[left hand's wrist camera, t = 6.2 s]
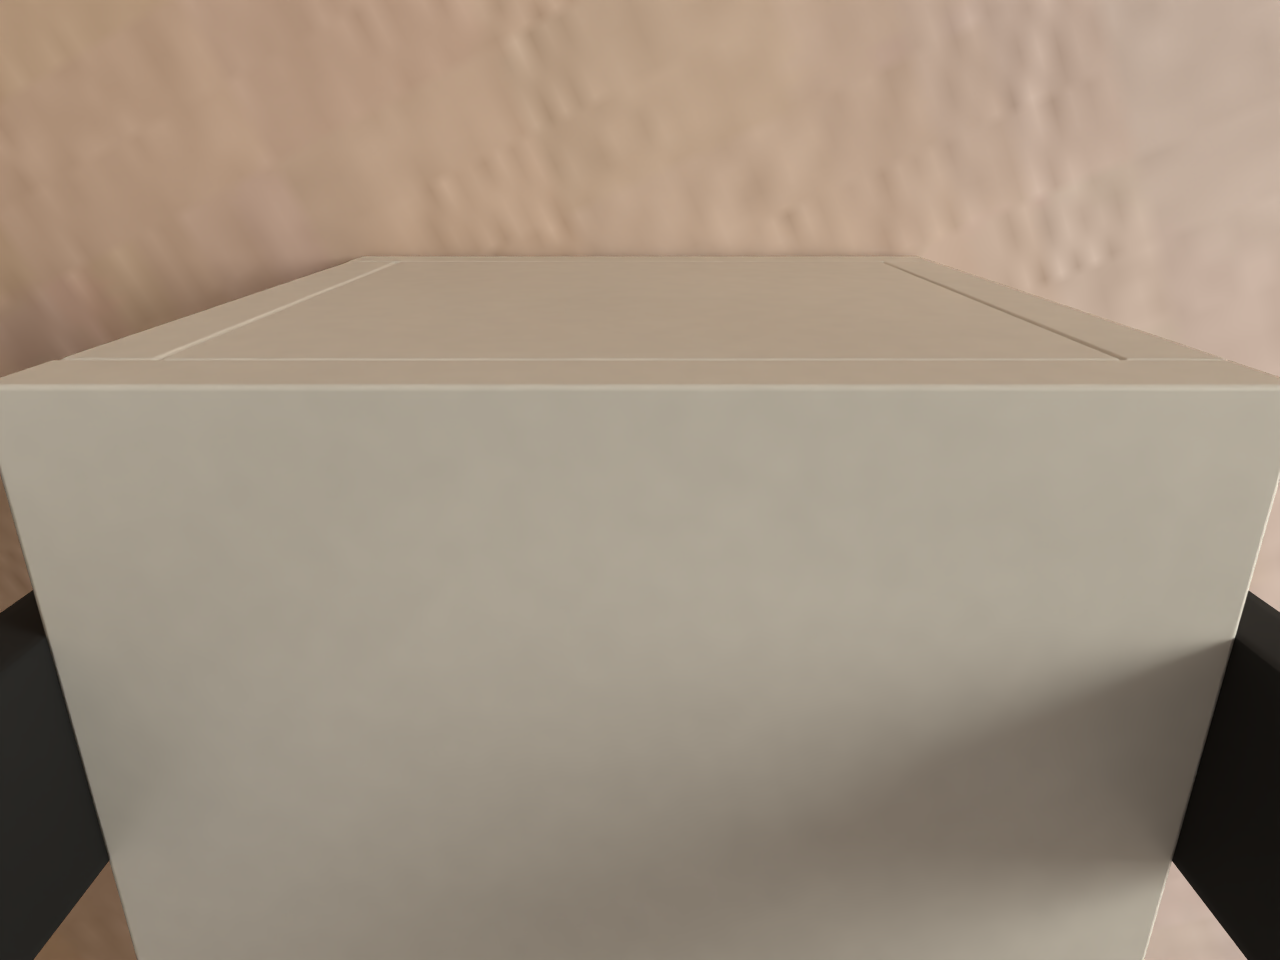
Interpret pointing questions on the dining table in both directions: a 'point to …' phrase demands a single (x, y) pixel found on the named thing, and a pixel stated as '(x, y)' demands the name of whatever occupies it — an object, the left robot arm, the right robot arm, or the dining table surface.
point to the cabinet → (640, 609)
